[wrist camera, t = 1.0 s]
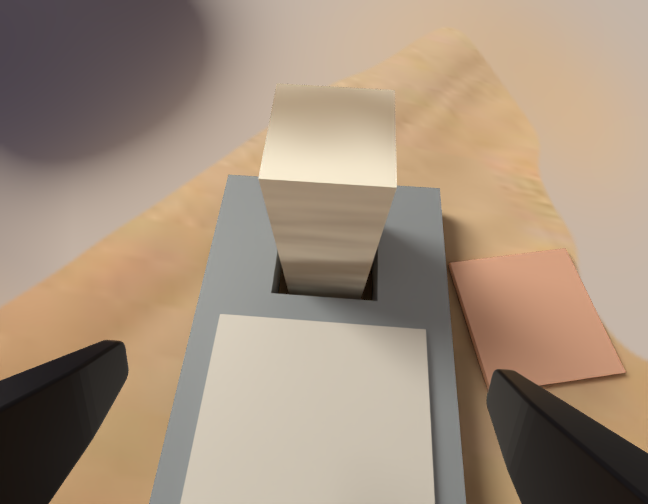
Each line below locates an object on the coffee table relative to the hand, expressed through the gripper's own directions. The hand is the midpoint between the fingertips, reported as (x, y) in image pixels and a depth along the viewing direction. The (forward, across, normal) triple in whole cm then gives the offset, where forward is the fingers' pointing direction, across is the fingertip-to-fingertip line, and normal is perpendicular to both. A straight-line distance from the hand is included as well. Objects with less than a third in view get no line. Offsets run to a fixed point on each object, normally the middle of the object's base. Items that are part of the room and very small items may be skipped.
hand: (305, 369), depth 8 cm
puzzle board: (+11, 0, +7) cm, 13 cm away
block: (+14, 0, +3) cm, 15 cm away
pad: (+13, -13, +4) cm, 19 cm away
